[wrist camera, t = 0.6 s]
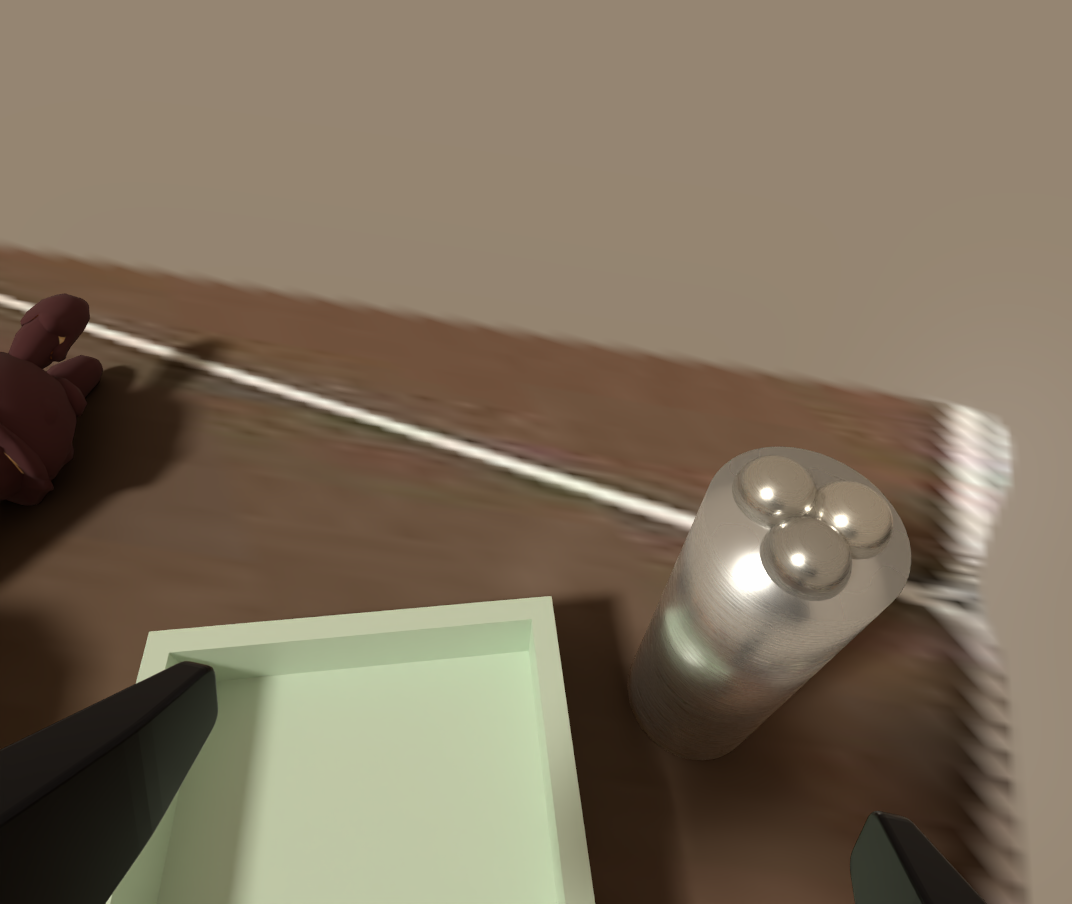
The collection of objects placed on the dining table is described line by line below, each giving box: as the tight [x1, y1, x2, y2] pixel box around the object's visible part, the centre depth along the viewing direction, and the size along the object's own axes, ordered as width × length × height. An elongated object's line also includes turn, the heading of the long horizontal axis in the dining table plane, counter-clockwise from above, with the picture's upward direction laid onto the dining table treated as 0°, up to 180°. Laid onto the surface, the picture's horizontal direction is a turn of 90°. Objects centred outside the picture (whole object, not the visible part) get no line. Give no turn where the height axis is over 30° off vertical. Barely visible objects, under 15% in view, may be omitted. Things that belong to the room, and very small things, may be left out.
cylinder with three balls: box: [628, 447, 911, 760], centre depth 20 cm, size 5×5×13 cm
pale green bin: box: [106, 596, 595, 904], centre depth 20 cm, size 14×14×4 cm
